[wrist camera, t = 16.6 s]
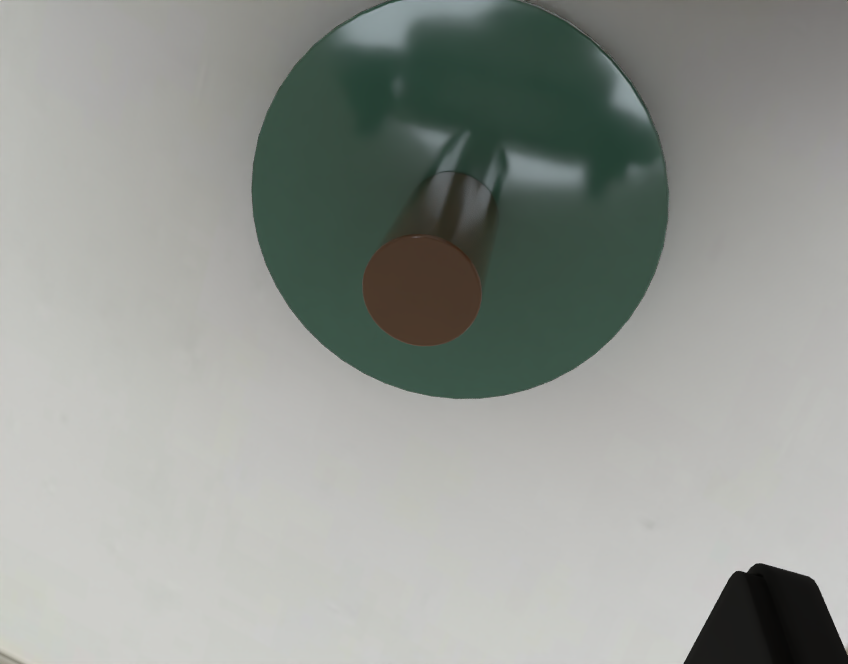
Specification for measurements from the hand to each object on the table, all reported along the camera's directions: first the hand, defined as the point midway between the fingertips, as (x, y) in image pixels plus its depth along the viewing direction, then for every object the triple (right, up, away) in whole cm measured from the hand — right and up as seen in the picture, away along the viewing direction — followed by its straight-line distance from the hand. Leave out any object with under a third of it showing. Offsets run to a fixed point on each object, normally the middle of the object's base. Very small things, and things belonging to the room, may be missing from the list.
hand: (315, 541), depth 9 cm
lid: (+2, +6, +11) cm, 13 cm away
